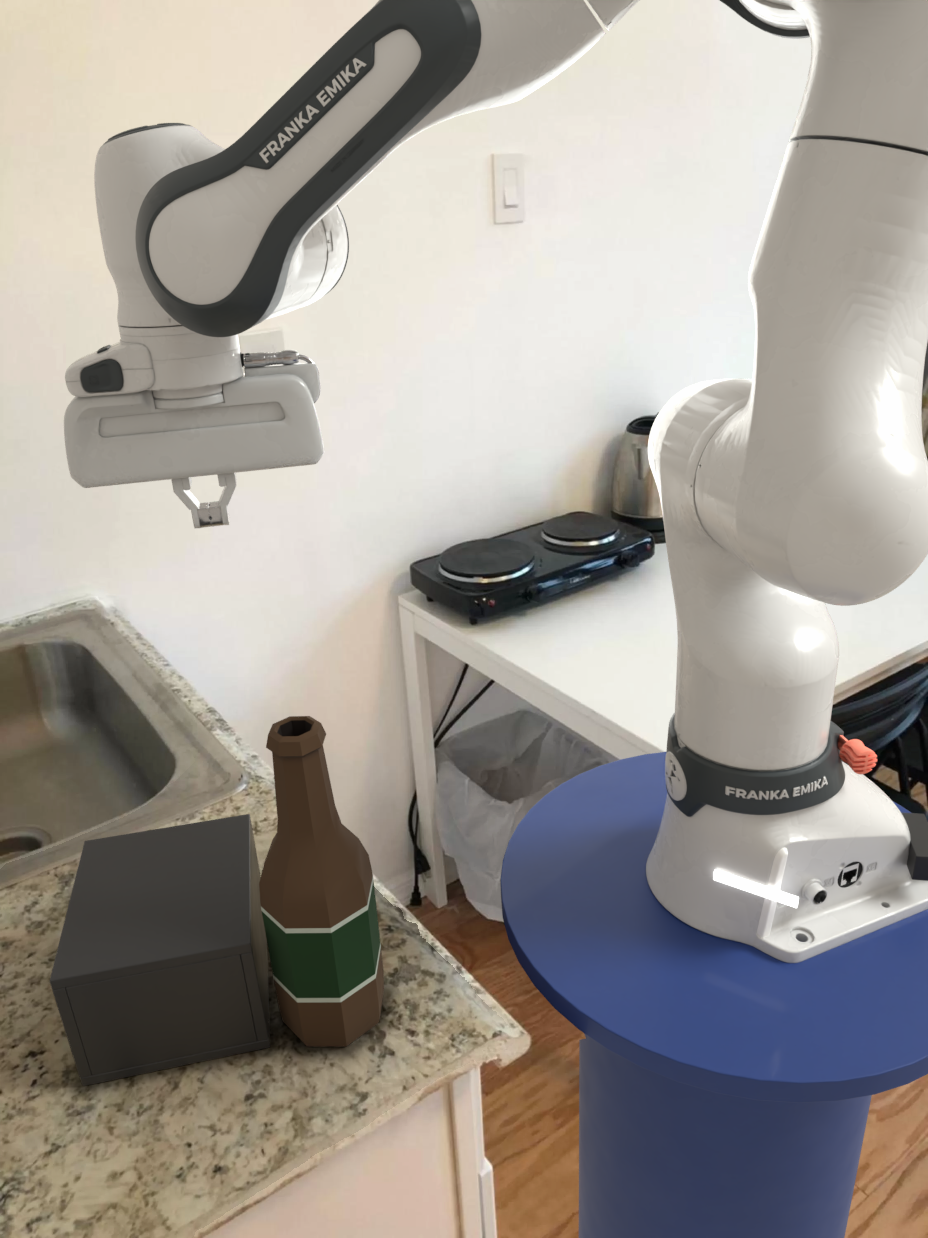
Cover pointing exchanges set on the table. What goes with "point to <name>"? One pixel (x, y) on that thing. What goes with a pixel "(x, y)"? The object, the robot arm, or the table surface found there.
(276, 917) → the beer bottle
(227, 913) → the cabinet
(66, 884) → the table surface
